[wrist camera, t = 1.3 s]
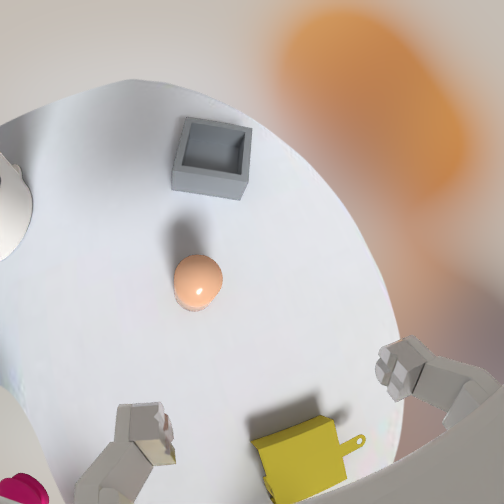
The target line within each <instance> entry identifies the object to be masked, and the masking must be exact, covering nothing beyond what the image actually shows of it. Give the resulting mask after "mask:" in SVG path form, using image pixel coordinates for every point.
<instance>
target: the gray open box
mask: <svg viewBox="0 0 504 504" xmlns="http://www.w3.org/2000/svg"><path fill="white" fill-rule="evenodd" d="M251 139H252V128H248V127H243V126H238V125H232V124H227V123H221V122H216V121H210V120H203V119H197V118H190V117H186V120H185V123H184V127H183V131H182V134H181V138H180V142H179V146H178V150H177V154H176V158H175V162H174V166H173V170H172V190H175V191H182V192H189V193H195V194H202V195H209V196H215V197H221V198H228V199H234V200H240V199H241V197H242V195H243V193H244V191H245V189H246V186H247V184H248V180H249V166H250V152H251Z"/></svg>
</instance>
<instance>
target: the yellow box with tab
mask: <svg viewBox="0 0 504 504" xmlns="http://www.w3.org/2000/svg"><path fill="white" fill-rule="evenodd" d="M359 438H362V443H361V444H359V445H358V444H357V440H358V439H359ZM365 441H366V438H365V436H364V435H358V436H356V437H354V438H352V439H350V440H349V441H347V442H345V443H343V444H341V445H339V441H338V437H337V432H336V428H335V424H334V420H333V419H330V418H327V417H325V416H322V415H319V416H317V417H315V418H312V419H310V420H308V421H305V422H303V423H300V424H298V425H295V426H293V427H290V428H287V429H285V430H282V431H279V432H276V433H274V434H271V435H268V436H265V437H262V438H259V439H256V440H253V441H250V442H251V443H252V444H253V445H254V446H255V447H256V448H257V449H258V452H259V455H260V458H261V461H262V464H263V467H264V470H265V473H266V476H265V477H263V480H264V482H265V485H266V488H267V490H268V491H269V493H270V494H271V495H272V496H273V498H270V499H271V501H272V502H273V503H274V504H293V503H296V502H299V501H301V500H304V499H306V498H308V497H311V496H313V495H315V494H317V493H320V492H322V491H324V490H326V489H328V488H330V487H332V486H334V485H336V484H338V483H340V482H342V481H344V480H346V479H347V476H346V471H345V467H344V462H343V458H342V457H343V456H345V455H347V454H349V453H351V452H353V451H355V450H356V449H358V448H360V447H362V446H363V445H364V443H365ZM270 489H271V490H272V492H271V490H270ZM272 493H273V494H272Z"/></svg>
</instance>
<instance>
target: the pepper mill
mask: <svg viewBox="0 0 504 504" xmlns="http://www.w3.org/2000/svg"><path fill="white" fill-rule="evenodd" d="M0 496H2V497H5V498H7V499H10V500H13V501H16V502H19V503H22V504H49V496H48V494H47V492H46V490H45V489H44V487H43V486H42V485H41V484H40V483H39V482H38V481H37V480H36V479H35V478H33V477H32V476H30V475H28V474H25V473H18V474H16V475H15V476H13V477H12V478H5V479H3V480H2V481H1V482H0Z"/></svg>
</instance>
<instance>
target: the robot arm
mask: <svg viewBox="0 0 504 504" xmlns="http://www.w3.org/2000/svg"><path fill="white" fill-rule="evenodd" d="M31 214H32V197H31V193H30V190H29V188H28V187H27V185H26V184H25V183H24V181H23V179H22V171H21V168H20V167H19V166H18V165H17V164H13V165H11V164H10V163H9V162H8V161H7V159H6V158H5V157H4V156H3V155H2V153H1V152H0V261H1V260H3V259H5V258H6V257H7V256H9V255H10V254H11V253H12V252H13V251H14V250H15V248H16V247H17V246H18V245H19V243H20V242H21V240H22V238H23V237H24V235H25V233H26V231H27V228H28V225H29V222H30V219H31ZM378 355H379V356H380V359H379V360H378V361H377V363H376V366H375V373H376V377H377V379H378V381H379V382H380V383H381V384H382V385H385V386H387V392H388V394H389V395H390V396H391V397H392V399H393V400H394V401H395V402H398V401H400V400H402V399H404V398H406V397H408V396H410V395H412V396H414V397H416V398H418V399H420V400H422V401H424V402H426V403H428V404H430V405H432V406H435V407H437V408H439V409H441V410H443V411H445V412H447V415H446V416H445V418H444V419H443V422H442V424H443V425H444V427H445V428H446V429H447V431H446V432H444V433H443V434H441V435H440V436H438V437H437V438H435V439H434V440H432V441H430V442H429V443H427V444H426V445H424V446H423V447H421V448H420V449H418V450H416V451H414V452H412V453H411V454H409V455H407V456H405V457H404V458H402V459H400V460H398V461H396V462H395V463H393V464H391V465H389V466H387V467H385V468H383V469H381V470H379V471H377V472H375V473H373V474H370V475H368V476H366V477H364V478H362V479H359V480H357V481H355V482H352V483H350V484H348V485H345V486H343V487H340V488H338V489H335V490H332V491H330V492H327V493H324V494H321V495H318V496H315V497H312V498H309V499H306V500H303V501H300V502H296V503H293V504H504V385H503V386H502V385H501V384H500V383H499V382H498V381H497V380H496V379H494V378H493V377H492V376H491V375H490V374H489V373H488V372H487V371H486V370H485V369H482V368H479V367H475V366H472V365H469V364H465V363H462V362H458V361H455V360H451V359H448V358H445V357H441V356H438V357H436V356H435V355H434V354H433V353H432V352H431V351H430V350H429V349H428V348H427V347H426V346H425V345H424V344H423V343H422V342H421V341H419V340H418V339H417V338H416V337H415V336H413V335H410V336H408V337H406V338H403V339H400V340H398V341H395V342H393V343H391V344H388V345H386V346H383V347H381V349H380V350H379V354H378ZM173 439H174V436H173V429H172V424H171V421H170V419H169V416H168V415H167V414H165V413H164V406H163V405H162V403H161V402H151V403H136V404H119V406H118V408H117V416H116V425H115V435H114V442H110V443H109V444H108V445H107V447H106V448H105V449H104V450H103V451H102V453H101V454H100V455H99V456H98V457H97V459H96V460H95V461H94V462H93V463H92V465H91V466H90V467H89V468H88V469H87V471H86V472H85V473H84V474H83V475H82V477H81V478H80V479H79V480H78V481H77V482H76V484H75V491H74V504H134V501H135V499H136V497H137V496H138V494H139V492H140V490H141V489H142V487H143V485H144V483H145V481H146V480H147V478H148V476H149V474H150V473H151V471H152V469H153V466H161V465H171V464H176V459H175V449H174V447H173V445H172V444H171V442H172V440H173ZM0 504H22V503H19V502H16V501H13V500H10V499H7V498H5V497H2V496H0Z"/></svg>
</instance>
